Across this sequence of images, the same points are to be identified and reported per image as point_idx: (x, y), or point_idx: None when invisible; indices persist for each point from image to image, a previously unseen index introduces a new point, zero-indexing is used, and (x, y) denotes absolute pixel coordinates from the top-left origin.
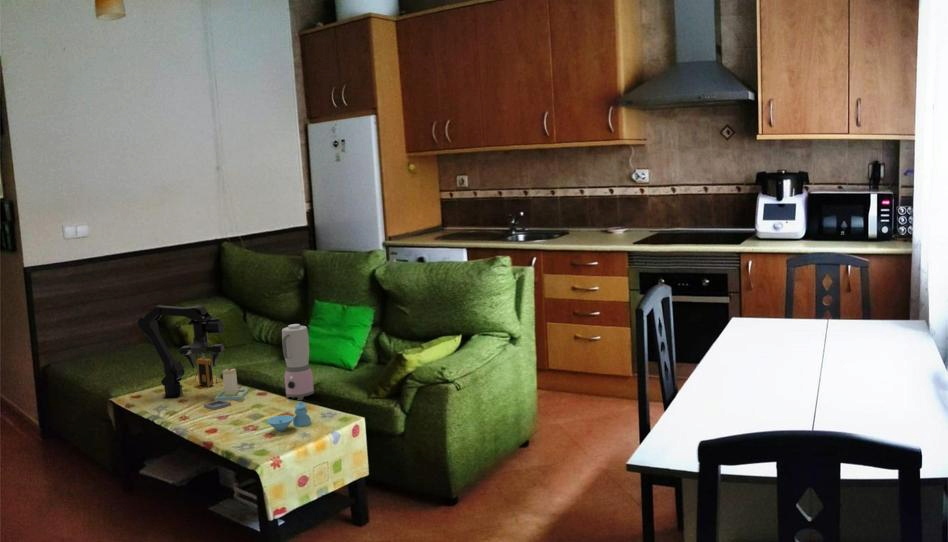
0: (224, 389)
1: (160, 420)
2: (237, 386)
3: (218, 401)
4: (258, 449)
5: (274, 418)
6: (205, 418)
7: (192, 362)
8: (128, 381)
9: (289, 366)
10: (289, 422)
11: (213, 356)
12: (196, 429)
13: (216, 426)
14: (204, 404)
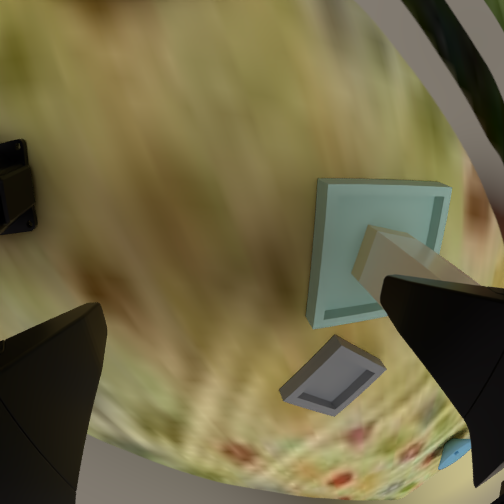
0: (373, 297)
1: (170, 467)
2: (435, 253)
3: (336, 356)
4: (406, 485)
5: (452, 452)
6: (311, 448)
7: (89, 411)
8: None
9: None
10: (463, 451)
11: (476, 422)
12: (306, 484)
13: (348, 468)
14: (286, 399)
